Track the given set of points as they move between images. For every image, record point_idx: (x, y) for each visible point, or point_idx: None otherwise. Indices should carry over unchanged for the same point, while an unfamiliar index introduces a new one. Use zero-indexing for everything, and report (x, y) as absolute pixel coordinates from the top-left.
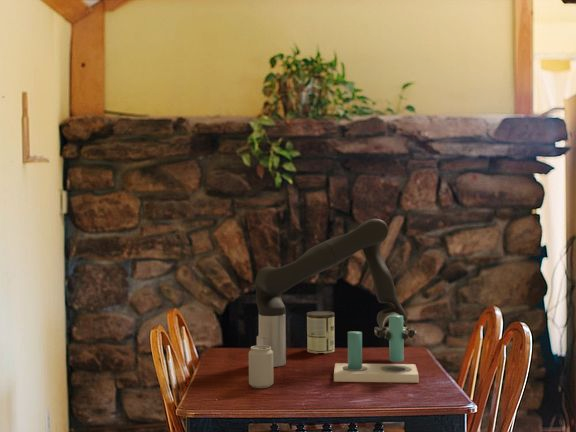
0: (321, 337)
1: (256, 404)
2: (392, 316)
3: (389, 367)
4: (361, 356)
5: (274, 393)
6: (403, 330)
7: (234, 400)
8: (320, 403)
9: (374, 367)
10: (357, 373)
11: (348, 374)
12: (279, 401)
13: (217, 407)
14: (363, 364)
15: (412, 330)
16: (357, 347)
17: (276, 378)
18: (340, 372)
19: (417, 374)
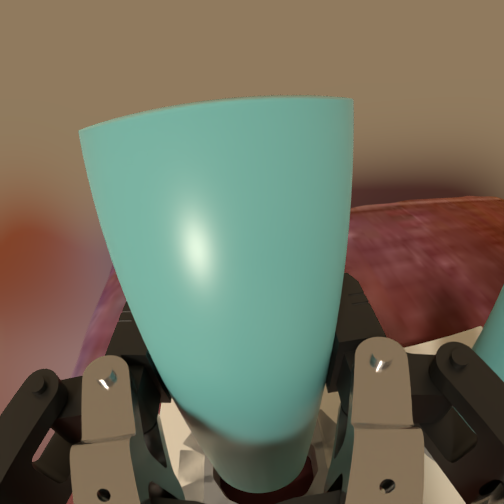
0: None
1: (466, 212)
2: (280, 96)
3: (305, 494)
4: None
5: (492, 246)
6: (130, 379)
7: (499, 219)
8: (394, 221)
9: None
10: (418, 347)
11: (443, 339)
12: (453, 221)
13: (487, 203)
14: (454, 502)
15: (34, 374)
16: (487, 319)
17: None
18: (473, 342)
19: None
